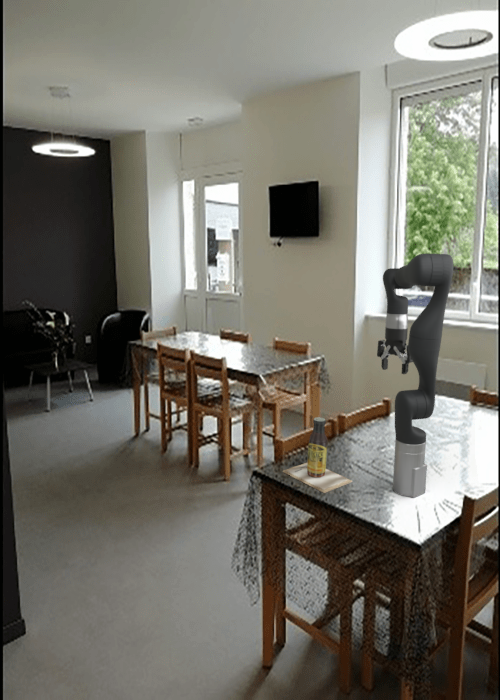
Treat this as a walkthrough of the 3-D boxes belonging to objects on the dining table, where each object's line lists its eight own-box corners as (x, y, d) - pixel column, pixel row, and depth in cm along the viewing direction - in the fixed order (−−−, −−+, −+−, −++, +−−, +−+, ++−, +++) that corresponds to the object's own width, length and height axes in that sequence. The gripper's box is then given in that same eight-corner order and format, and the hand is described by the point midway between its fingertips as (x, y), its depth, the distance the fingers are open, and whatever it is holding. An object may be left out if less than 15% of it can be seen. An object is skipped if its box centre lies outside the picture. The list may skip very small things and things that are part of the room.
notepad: (352, 482, 185) (352, 479, 185) (324, 493, 177) (324, 491, 177) (310, 462, 200) (310, 460, 200) (282, 472, 193) (282, 470, 192)
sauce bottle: (304, 476, 188) (305, 420, 184) (311, 469, 193) (312, 414, 189) (322, 480, 185) (324, 423, 181) (329, 473, 190) (330, 417, 186)
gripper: (373, 324, 197) (371, 369, 200) (406, 329, 186) (404, 377, 189) (387, 322, 202) (385, 366, 205) (420, 327, 191) (417, 373, 194)
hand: (394, 371), depth 197 cm, fingers open, 8 cm apart
